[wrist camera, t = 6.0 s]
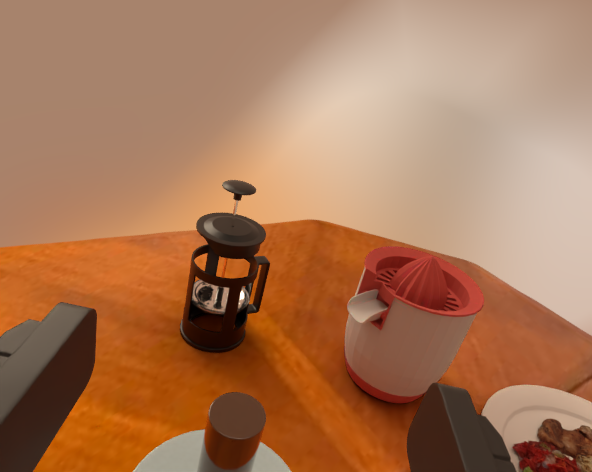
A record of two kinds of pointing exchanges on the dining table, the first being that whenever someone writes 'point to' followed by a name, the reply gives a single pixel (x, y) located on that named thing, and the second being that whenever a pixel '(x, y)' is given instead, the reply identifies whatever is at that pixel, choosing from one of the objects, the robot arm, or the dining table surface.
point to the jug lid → (220, 442)
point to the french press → (218, 290)
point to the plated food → (543, 428)
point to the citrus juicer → (407, 322)
